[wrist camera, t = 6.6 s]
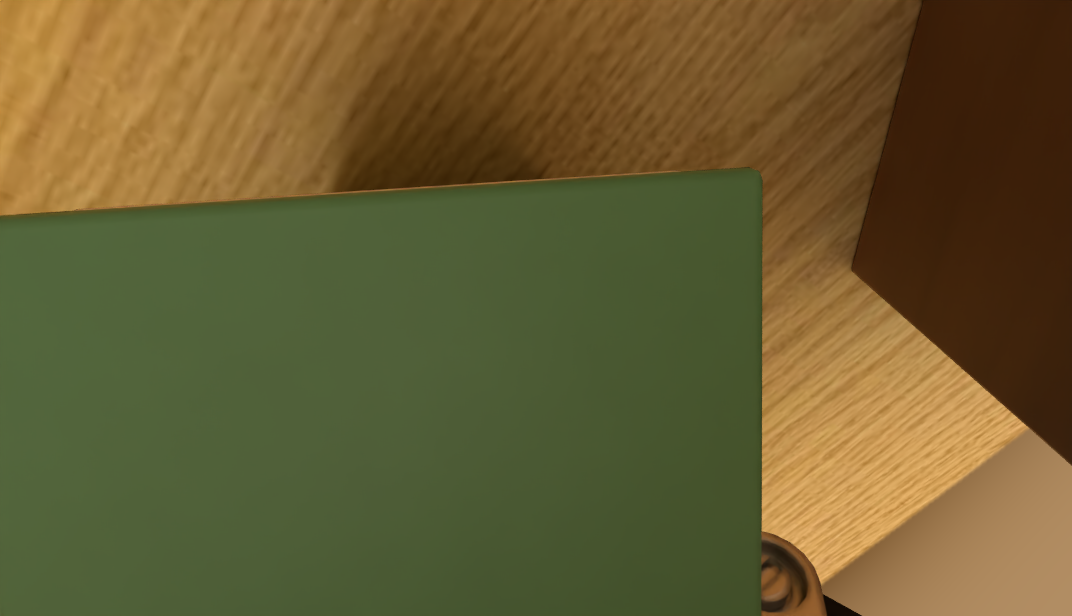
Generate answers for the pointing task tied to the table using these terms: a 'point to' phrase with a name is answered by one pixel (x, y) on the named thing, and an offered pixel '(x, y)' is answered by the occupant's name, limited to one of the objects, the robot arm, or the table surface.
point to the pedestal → (984, 201)
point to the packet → (388, 402)
